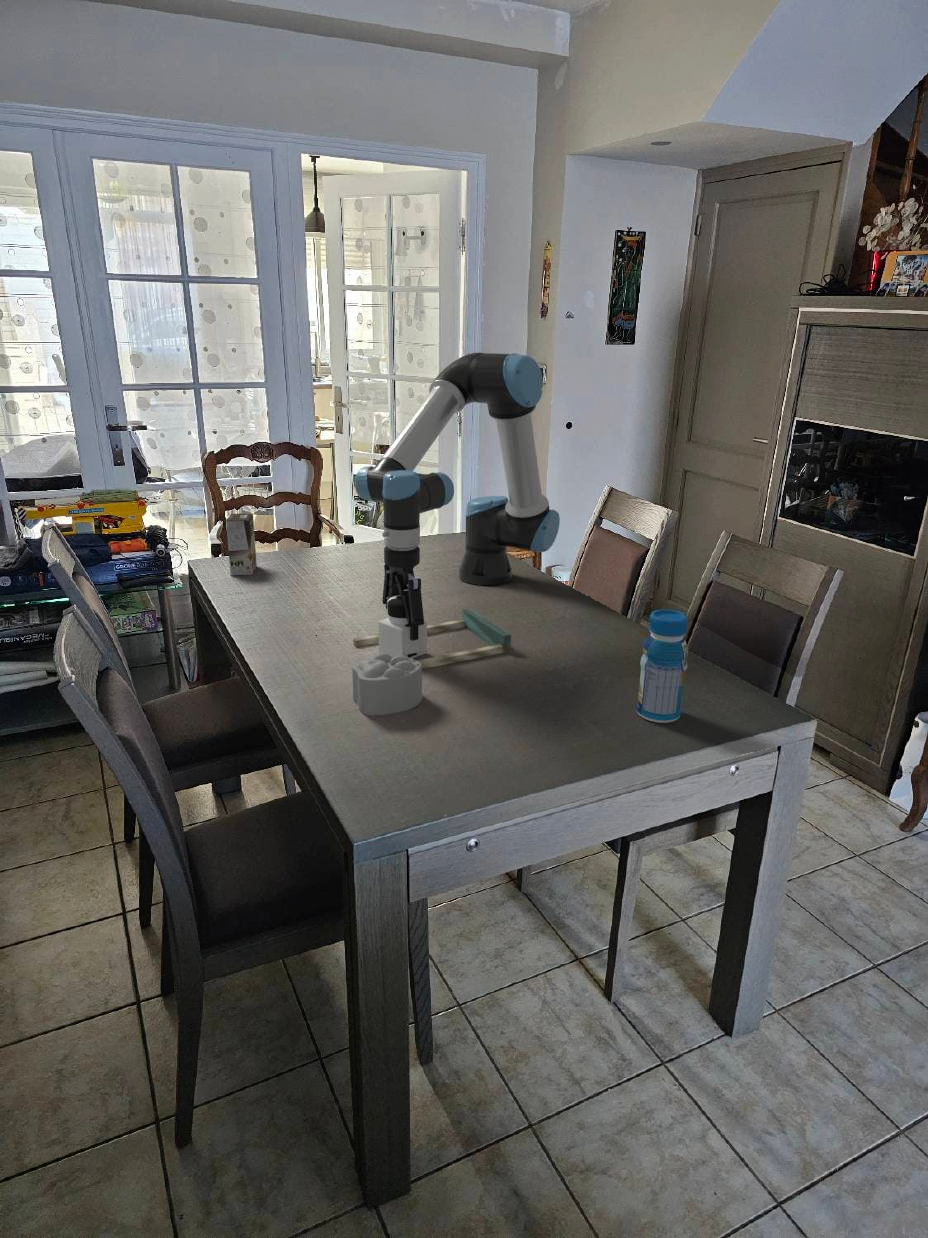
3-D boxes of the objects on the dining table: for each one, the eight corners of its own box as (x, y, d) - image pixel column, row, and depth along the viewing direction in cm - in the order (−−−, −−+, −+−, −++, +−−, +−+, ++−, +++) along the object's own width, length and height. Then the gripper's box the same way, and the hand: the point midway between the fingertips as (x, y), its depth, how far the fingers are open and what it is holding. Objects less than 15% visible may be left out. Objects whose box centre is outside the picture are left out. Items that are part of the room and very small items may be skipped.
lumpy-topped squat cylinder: (349, 695, 156) (348, 654, 153) (412, 685, 161) (412, 645, 158) (364, 718, 147) (363, 675, 144) (430, 707, 152) (430, 665, 149)
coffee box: (253, 575, 227) (248, 520, 222) (230, 575, 226) (225, 520, 221) (257, 566, 236) (253, 512, 230) (235, 566, 235) (230, 512, 229)
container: (427, 653, 176) (427, 597, 172) (402, 663, 171) (401, 606, 166) (404, 644, 181) (403, 589, 177) (378, 653, 176) (376, 597, 171)
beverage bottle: (653, 728, 146) (664, 626, 138) (626, 708, 153) (636, 610, 146) (690, 720, 149) (703, 619, 142) (662, 701, 156) (673, 604, 149)
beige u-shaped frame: (469, 623, 194) (469, 608, 192) (510, 651, 178) (511, 634, 177) (353, 644, 180) (352, 628, 179) (386, 676, 165) (386, 658, 163)
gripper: (365, 535, 175) (368, 631, 183) (407, 561, 157) (408, 666, 165) (396, 532, 178) (398, 626, 186) (441, 556, 160) (440, 659, 168)
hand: (402, 644), depth 175 cm, fingers closed on container, 9 cm apart
